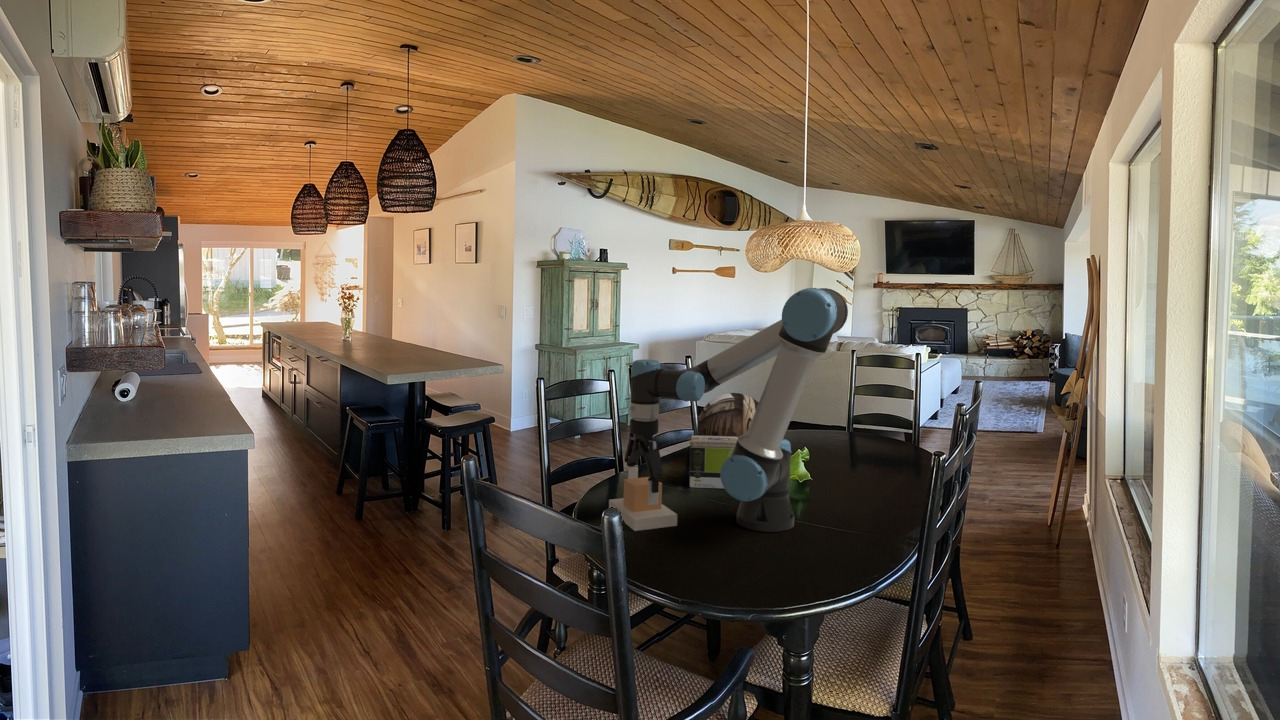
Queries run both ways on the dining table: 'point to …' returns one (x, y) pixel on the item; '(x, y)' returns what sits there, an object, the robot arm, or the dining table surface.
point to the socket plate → (645, 516)
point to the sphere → (727, 415)
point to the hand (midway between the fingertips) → (642, 497)
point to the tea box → (709, 459)
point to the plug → (639, 495)
